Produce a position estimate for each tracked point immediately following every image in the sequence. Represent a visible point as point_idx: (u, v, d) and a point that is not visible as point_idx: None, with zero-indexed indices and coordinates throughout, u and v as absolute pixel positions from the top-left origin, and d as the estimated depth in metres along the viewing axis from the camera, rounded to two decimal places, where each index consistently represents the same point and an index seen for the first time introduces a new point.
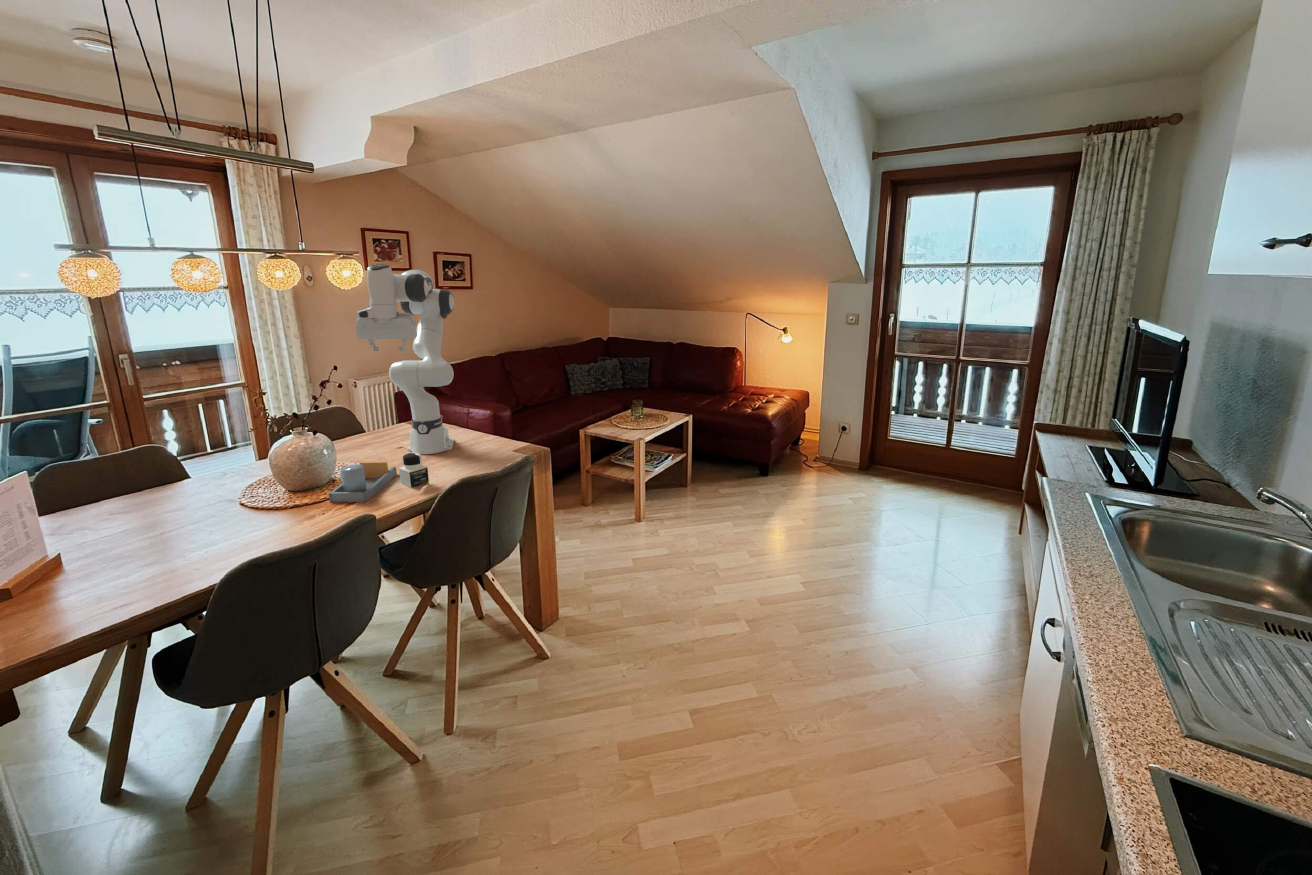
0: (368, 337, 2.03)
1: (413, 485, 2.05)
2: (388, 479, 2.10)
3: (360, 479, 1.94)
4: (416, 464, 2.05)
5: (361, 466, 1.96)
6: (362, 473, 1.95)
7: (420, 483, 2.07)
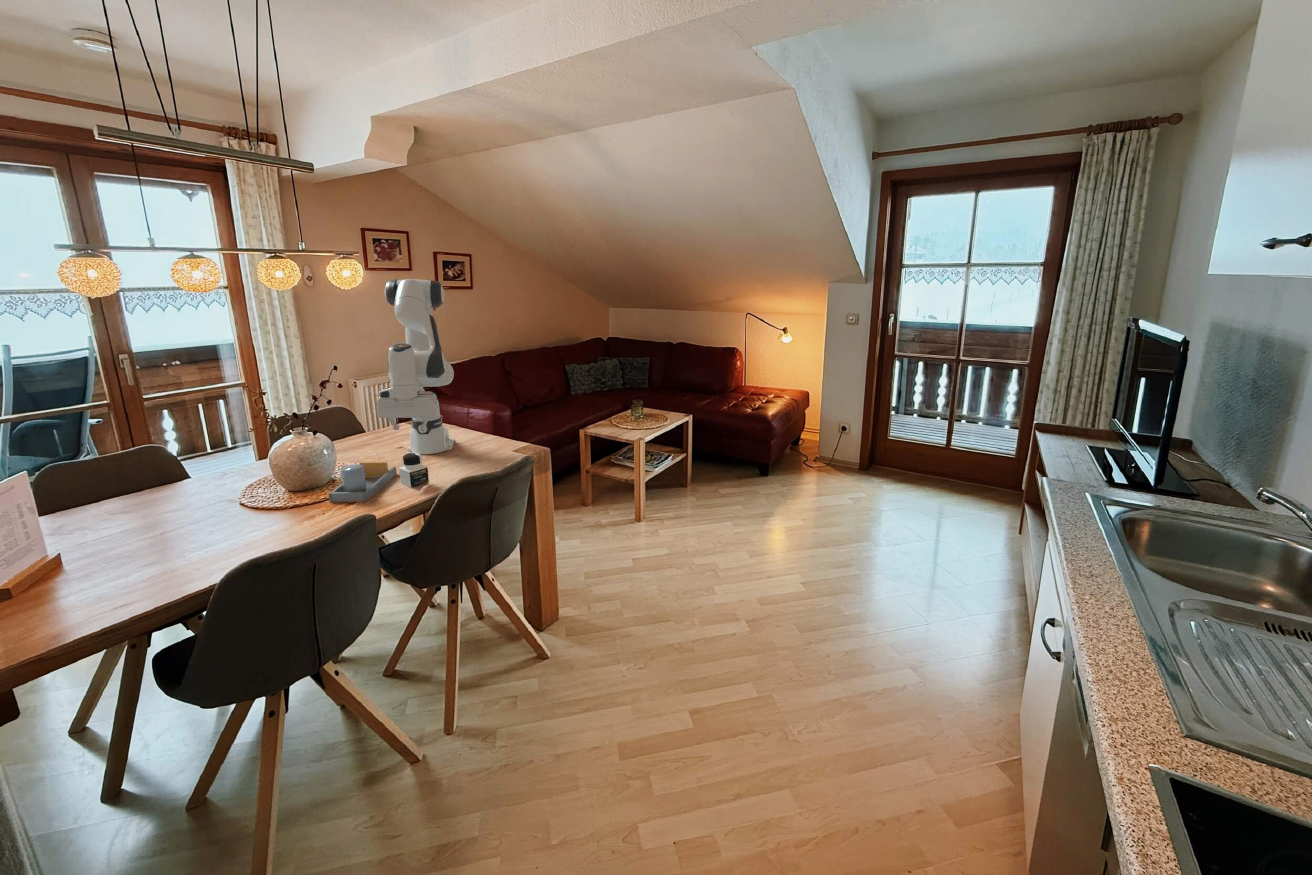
0: (389, 416, 2.00)
1: (413, 485, 2.05)
2: (388, 479, 2.10)
3: (360, 479, 1.94)
4: (416, 464, 2.05)
5: (361, 466, 1.96)
6: (362, 473, 1.95)
7: (420, 483, 2.07)
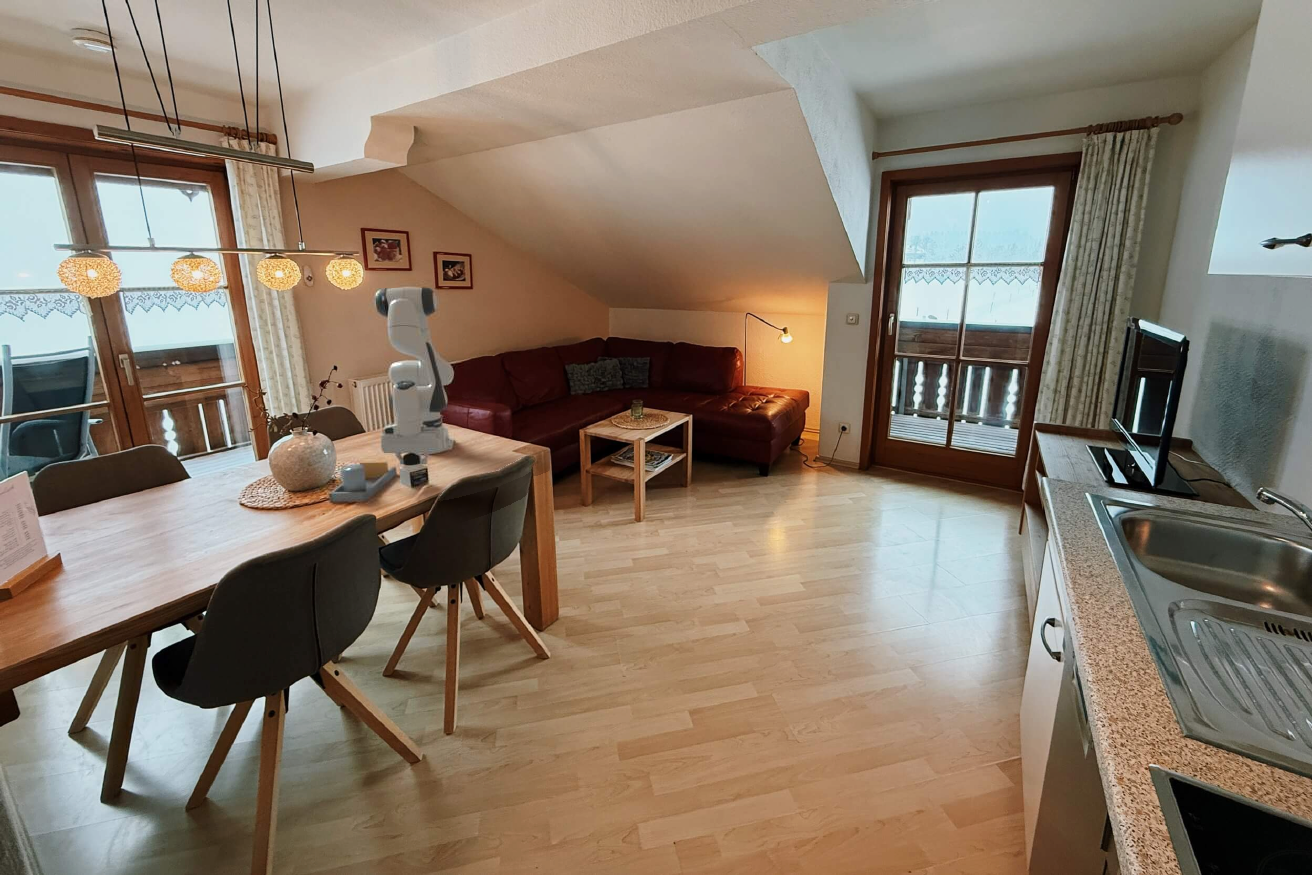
0: (393, 451, 2.04)
1: (413, 485, 2.05)
2: (388, 479, 2.10)
3: (360, 479, 1.94)
4: (416, 464, 2.05)
5: (361, 466, 1.96)
6: (362, 473, 1.95)
7: (420, 483, 2.07)
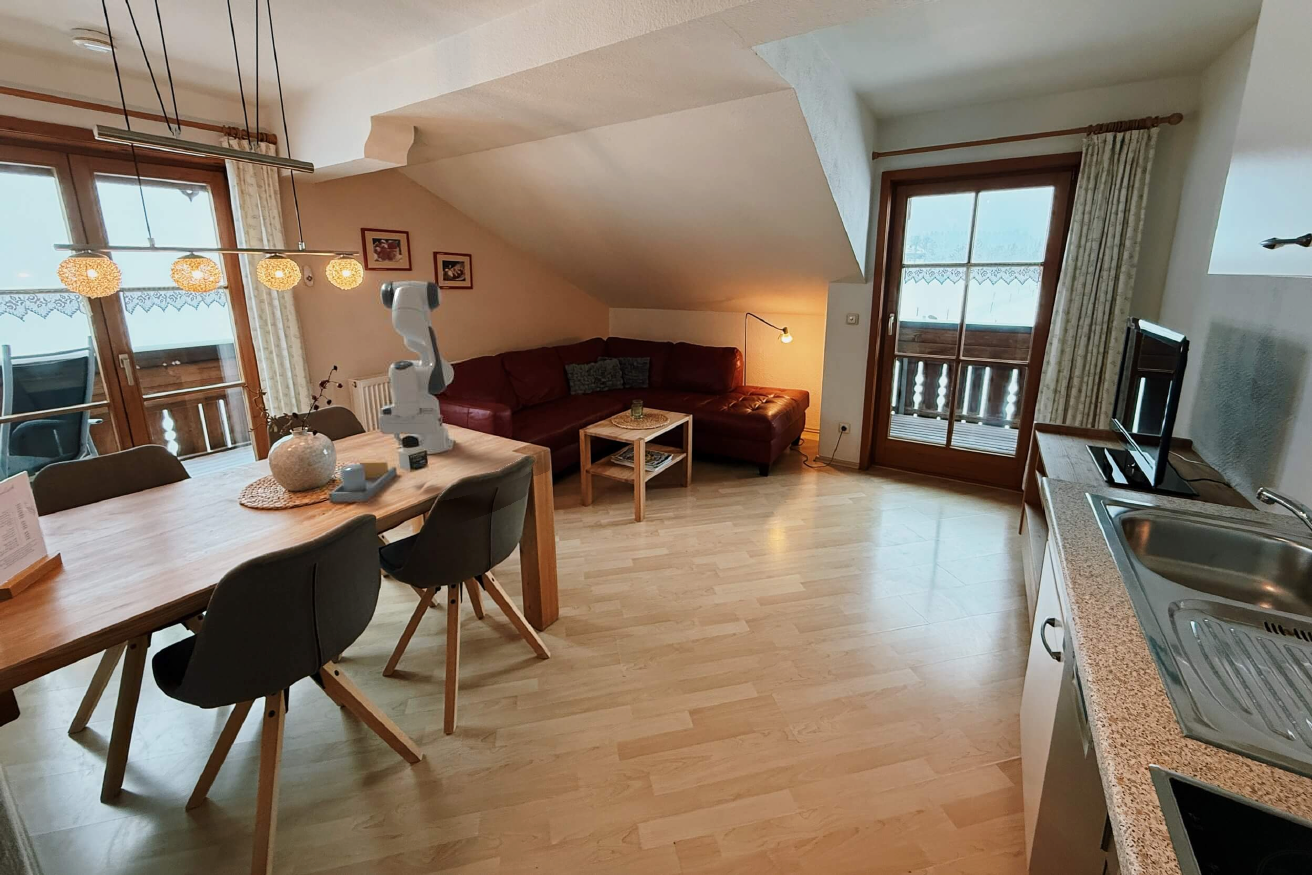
0: (391, 432, 2.03)
1: (412, 468, 2.04)
2: (388, 479, 2.10)
3: (360, 479, 1.94)
4: (415, 446, 2.04)
5: (361, 466, 1.96)
6: (362, 473, 1.95)
7: (419, 466, 2.06)
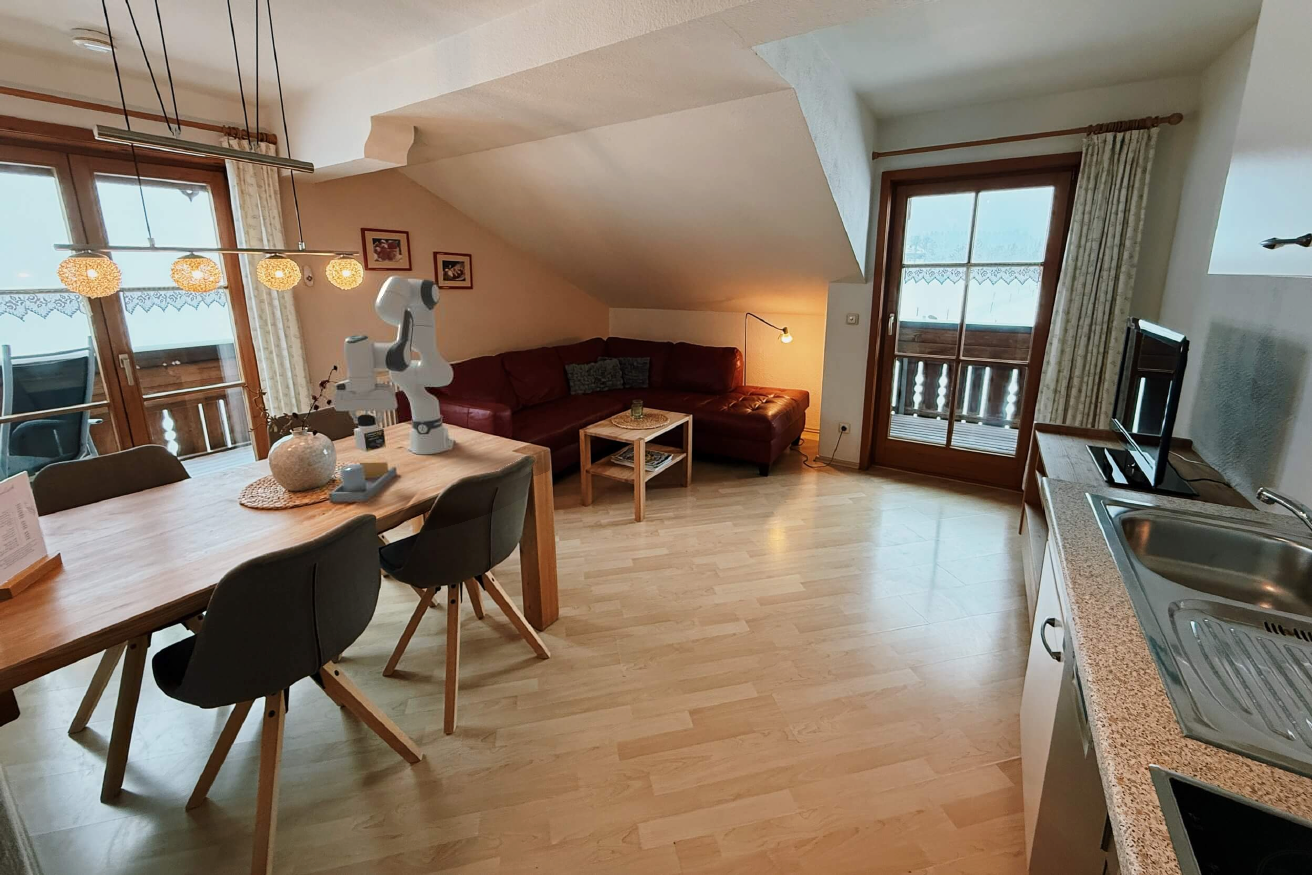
0: (346, 409, 1.97)
1: (368, 447, 1.98)
2: (388, 479, 2.10)
3: (360, 479, 1.94)
4: (371, 425, 1.98)
5: (361, 466, 1.96)
6: (362, 473, 1.95)
7: (376, 445, 2.00)
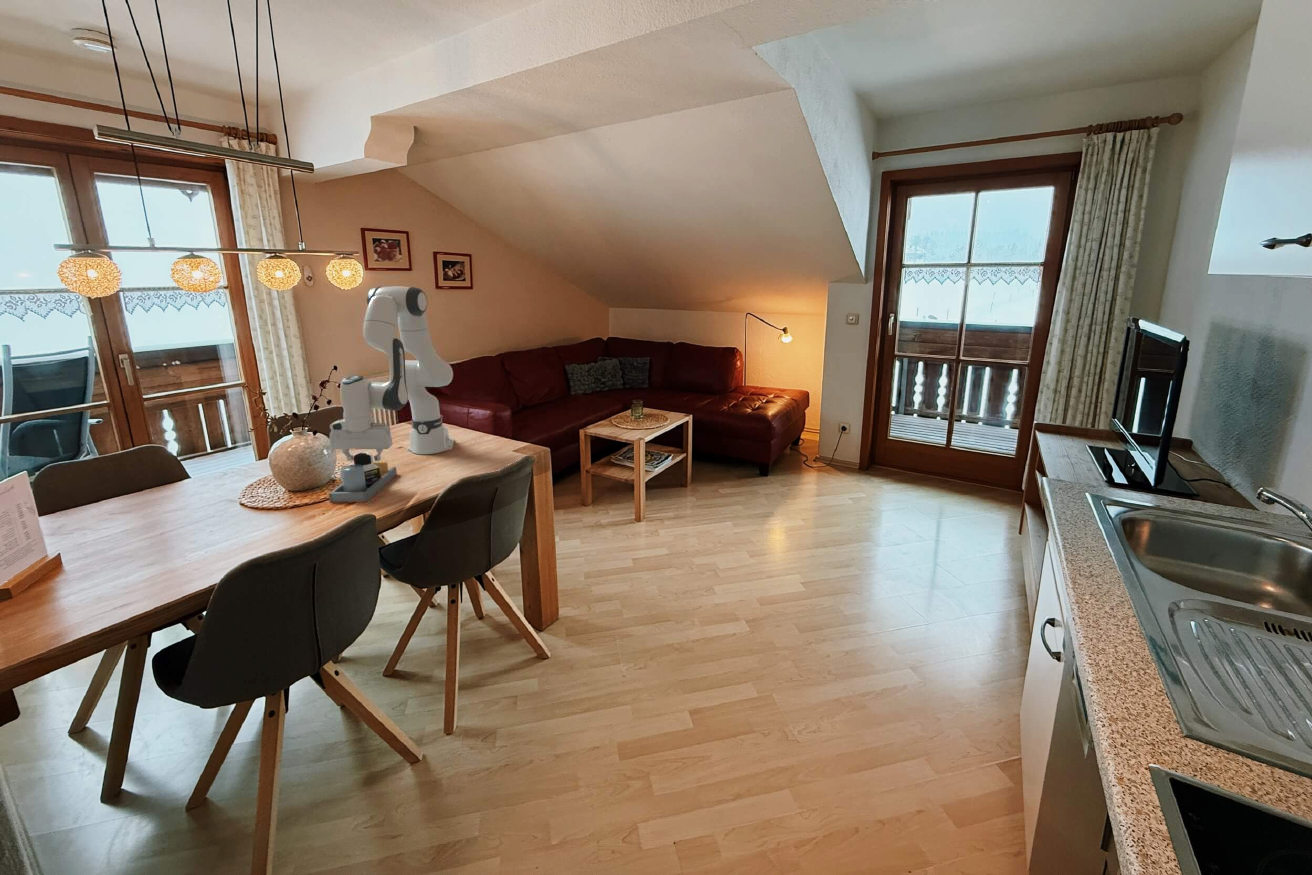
0: (342, 447, 2.00)
1: None
2: (388, 479, 2.10)
3: (360, 479, 1.94)
4: (367, 464, 2.02)
5: (361, 466, 1.96)
6: (362, 473, 1.95)
7: (371, 483, 2.04)
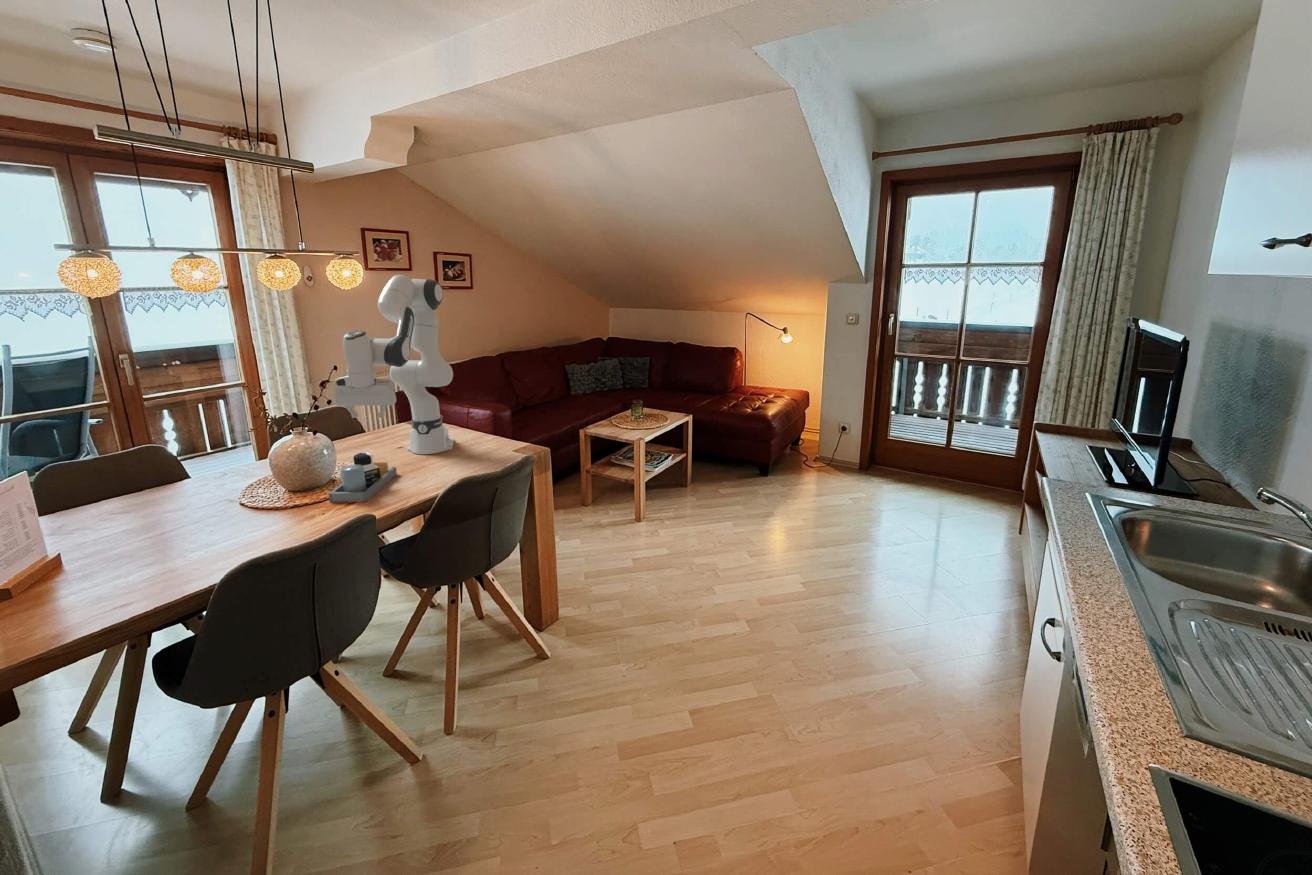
0: (346, 404, 2.01)
1: None
2: (388, 479, 2.10)
3: (360, 479, 1.94)
4: (367, 464, 2.02)
5: (361, 466, 1.96)
6: (362, 473, 1.95)
7: (371, 483, 2.04)
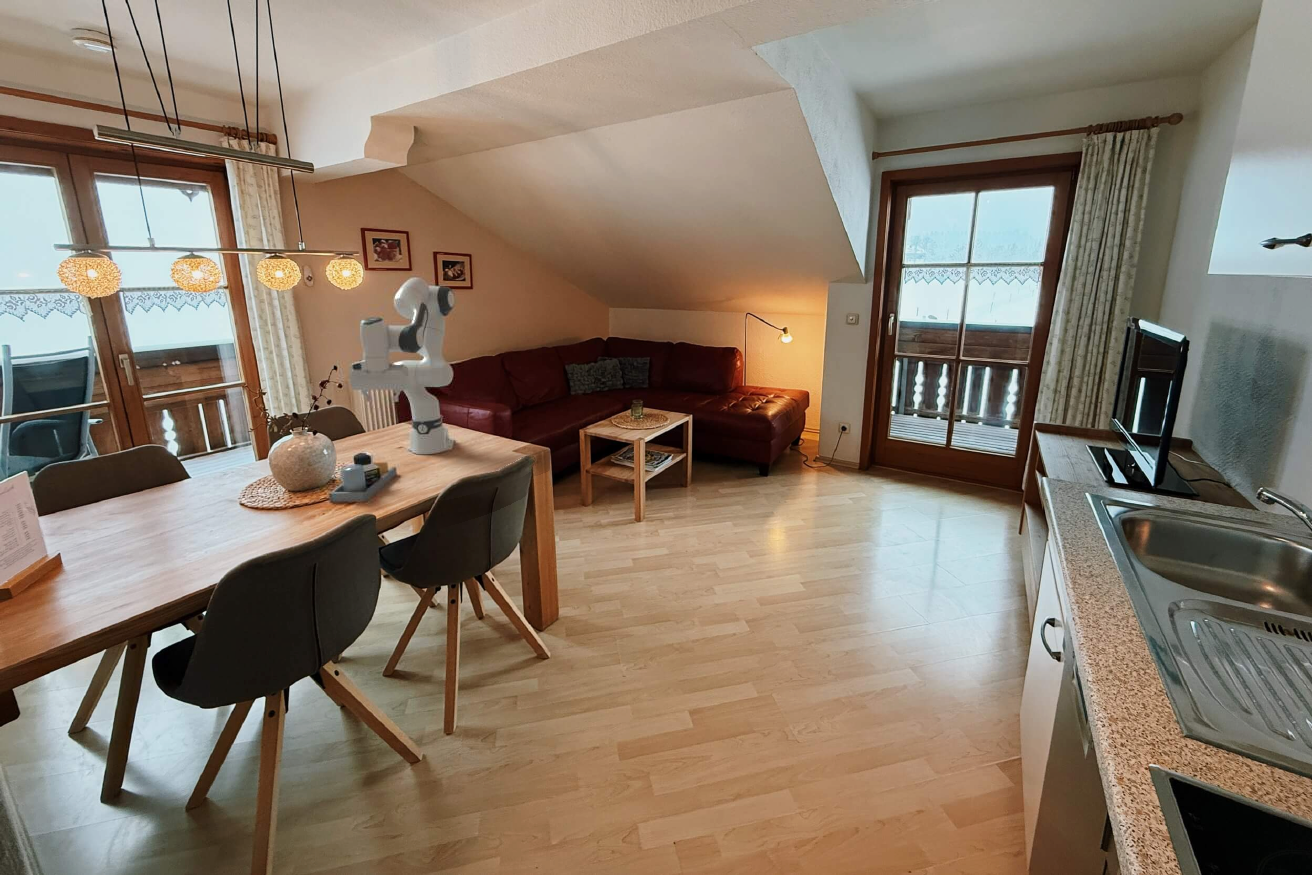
0: (361, 388, 2.07)
1: None
2: (388, 479, 2.10)
3: (360, 479, 1.94)
4: (367, 464, 2.02)
5: (361, 466, 1.96)
6: (362, 473, 1.95)
7: (371, 483, 2.04)
